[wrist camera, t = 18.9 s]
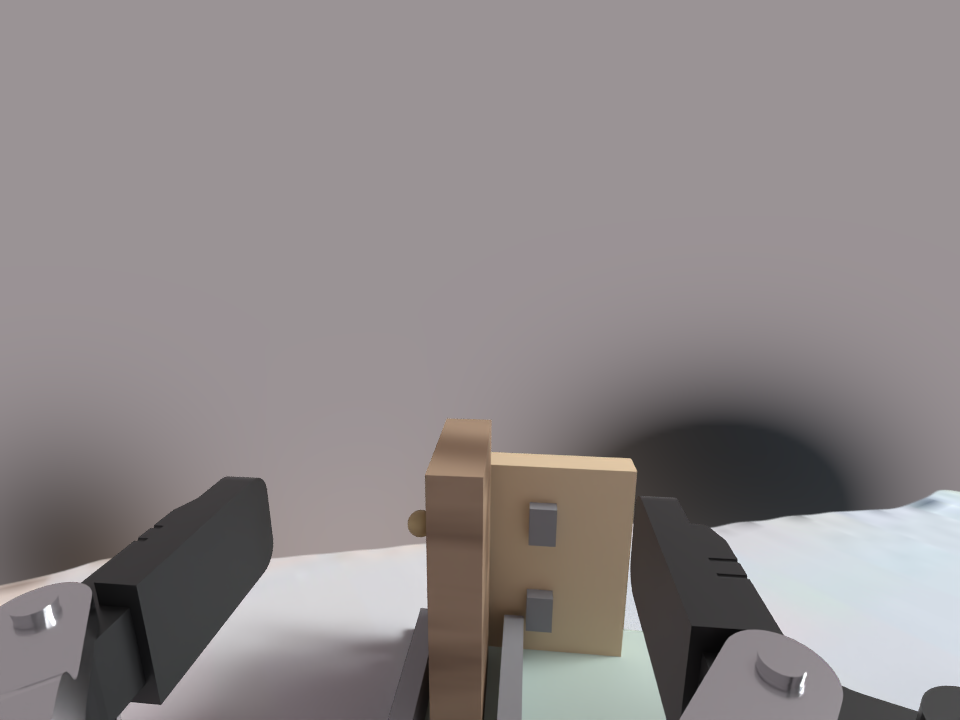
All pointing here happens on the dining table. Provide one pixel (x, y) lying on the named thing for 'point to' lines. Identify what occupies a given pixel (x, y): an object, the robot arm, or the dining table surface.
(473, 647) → the door panel
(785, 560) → the dining table surface
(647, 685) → the cabinet frame
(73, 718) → the robot arm
